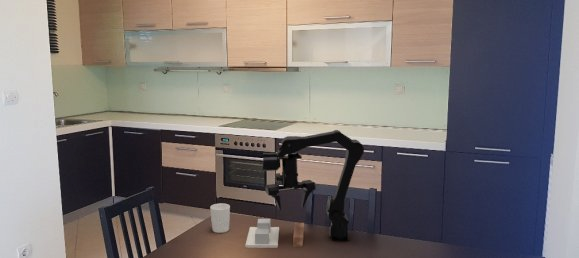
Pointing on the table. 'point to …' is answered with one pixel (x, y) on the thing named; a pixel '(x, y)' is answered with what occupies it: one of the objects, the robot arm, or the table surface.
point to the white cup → (220, 217)
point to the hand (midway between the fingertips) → (291, 208)
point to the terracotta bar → (298, 235)
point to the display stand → (263, 235)
